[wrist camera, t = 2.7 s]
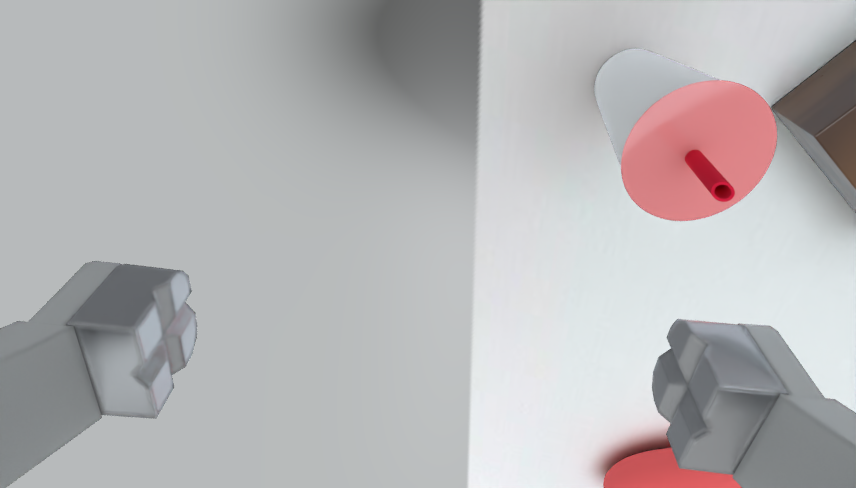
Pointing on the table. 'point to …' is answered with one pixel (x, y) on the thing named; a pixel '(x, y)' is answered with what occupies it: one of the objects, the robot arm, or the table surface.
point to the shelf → (827, 120)
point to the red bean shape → (662, 473)
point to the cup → (683, 134)
